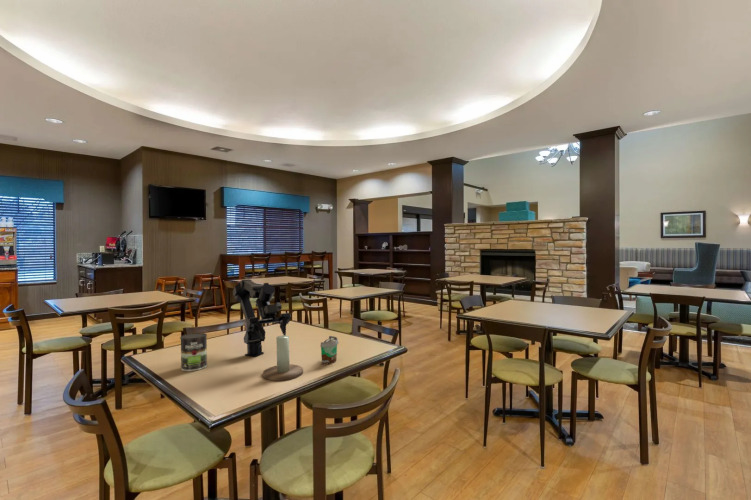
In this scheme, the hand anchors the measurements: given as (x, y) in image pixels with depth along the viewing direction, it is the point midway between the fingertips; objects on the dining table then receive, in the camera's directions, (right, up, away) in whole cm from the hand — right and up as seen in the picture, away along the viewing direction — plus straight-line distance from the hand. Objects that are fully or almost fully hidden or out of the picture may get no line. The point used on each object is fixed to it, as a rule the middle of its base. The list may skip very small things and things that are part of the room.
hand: (275, 337), depth 154 cm
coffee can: (-36, -14, +3) cm, 39 cm away
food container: (+23, -13, +9) cm, 28 cm away
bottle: (+5, -12, -6) cm, 15 cm away
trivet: (+5, -14, -6) cm, 16 cm away
